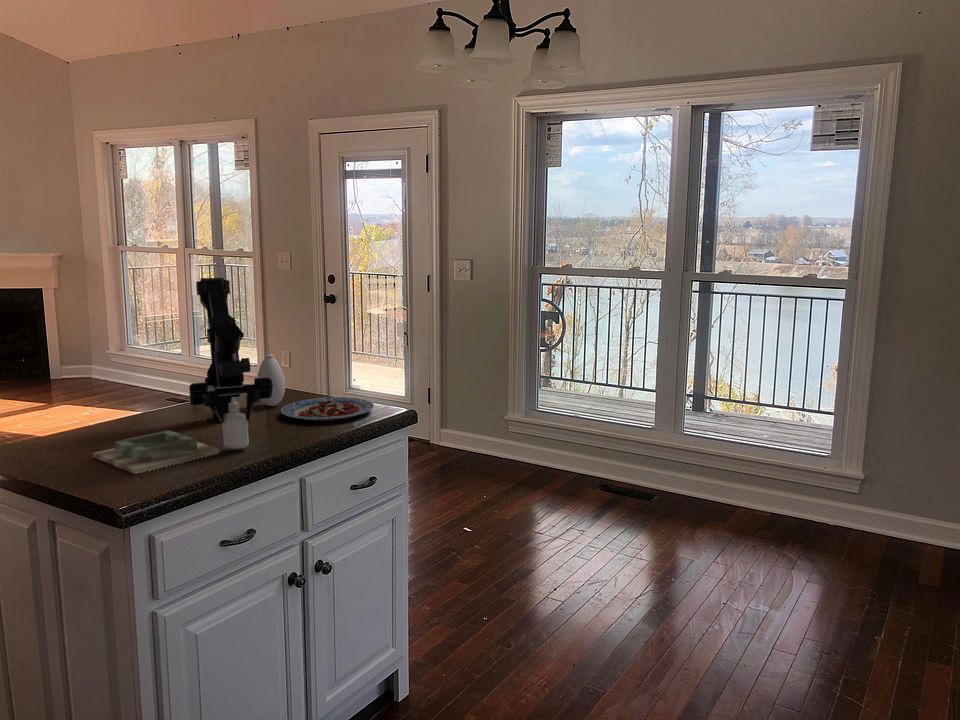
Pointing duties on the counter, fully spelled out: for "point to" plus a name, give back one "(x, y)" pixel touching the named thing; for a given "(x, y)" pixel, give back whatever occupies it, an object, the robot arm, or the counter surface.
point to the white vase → (272, 378)
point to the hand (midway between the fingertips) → (235, 421)
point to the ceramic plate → (327, 408)
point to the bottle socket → (155, 451)
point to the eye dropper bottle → (235, 427)
